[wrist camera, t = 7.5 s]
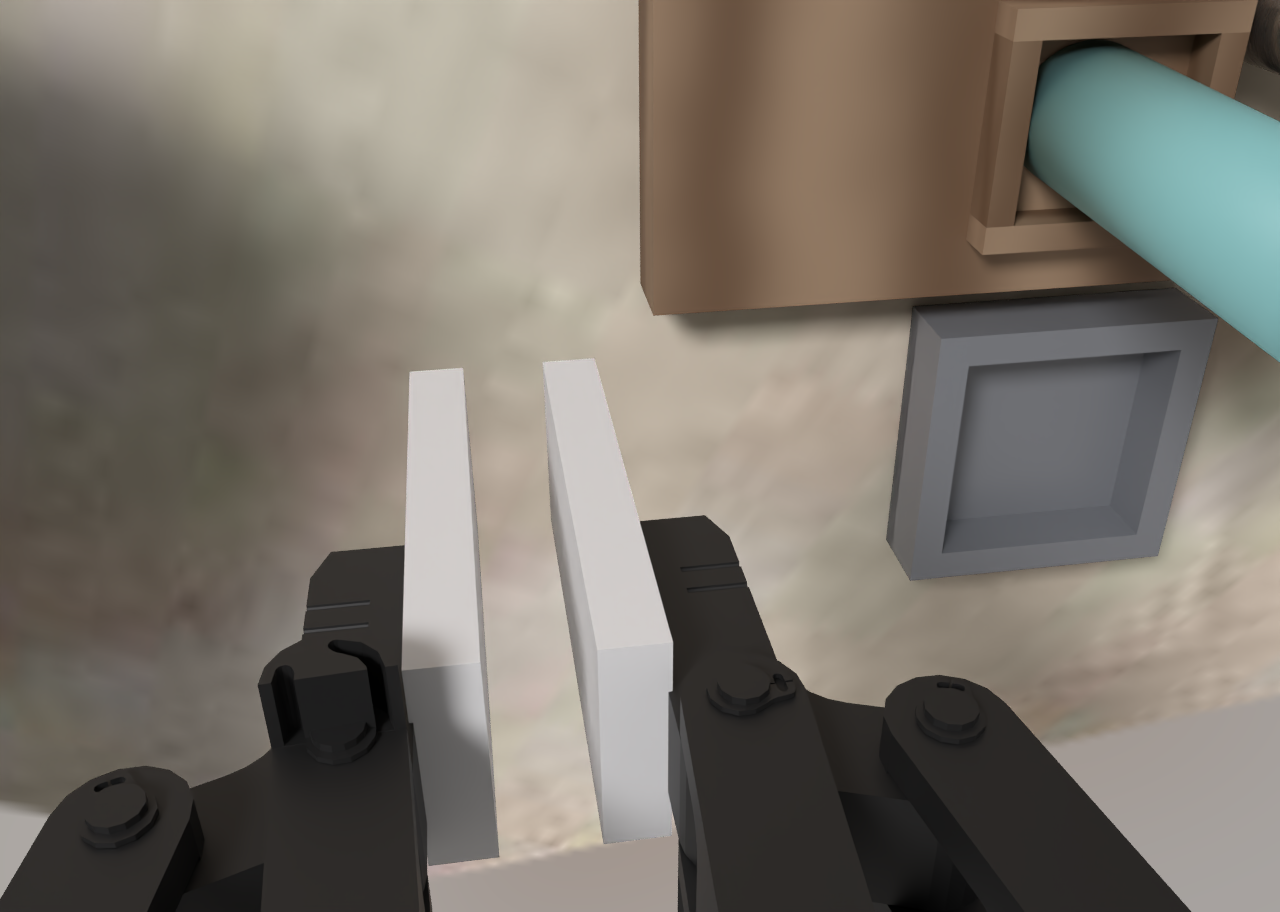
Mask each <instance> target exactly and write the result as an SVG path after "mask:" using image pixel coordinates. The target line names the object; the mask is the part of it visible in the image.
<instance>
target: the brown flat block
mask: <svg viewBox="0 0 1280 912" xmlns="http://www.w3.org/2000/svg"><path fill="white" fill-rule="evenodd" d="M1257 2H1258V0H639V127H640V276H641V286H642V288H643V291H644V293H645V296H646V298H647V301H648V303H649V306H650V308H651V311H652V313H653V316H655V315H669V314H684V313H699V312H713V311H728V310H743V309H757V308H772V307H787V306H801V305H816V304H831V303H845V302H860V301H875V300H889V299H904V298H919V297H934V296H948V295H963V294H978V293H992V292H1007V291H1022V290H1036V289H1051V288H1066V287H1080V286H1095V285H1110V284H1124V283H1139V282H1154V281H1169V280H1171V279H1170V278H1168V277H1167V276H1166V275H1164V274H1163V273H1162V272H1161V271H1159V270H1158V269H1157V268H1155V267H1154V266H1153V265H1151V264H1150V263H1149V262H1147V261H1146V260H1145V259H1143V258H1142V257H1141V256H1140V255H1138V254H1137V253H1136V252H1134V251H1133V250H1132V249H1130V248H1129V247H1128V246H1126V245H1125V244H1124V243H1123V242H1121V241H1120V240H1119V239H1117V238H1116V237H1115V236H1113V235H1112V234H1111V233H1109V232H1108V231H1107V230H1105V229H1104V228H1103V227H1102V226H1100V225H1099V224H1098V223H1096V222H1095V221H1094V220H1092V219H1091V218H1090V217H1088V216H1087V215H1086V214H1085V213H1083V212H1082V211H1081V210H1079V209H1078V208H1077V207H1075V206H1074V205H1073V204H1071V203H1070V202H1069V201H1067V200H1066V199H1065V198H1064V197H1062V196H1061V195H1060V194H1058V193H1057V192H1056V191H1054V190H1053V189H1052V188H1050V187H1049V186H1048V185H1047V184H1045V183H1044V182H1043V181H1041V180H1040V179H1039V178H1037V177H1036V176H1035V175H1033V174H1032V173H1031V172H1030V171H1029V170H1028V169H1027V168H1026V167H1025V166H1024V165H1023V164H1024V157H1025V151H1026V145H1027V138H1028V132H1029V125H1030V119H1031V113H1032V106H1033V100H1034V94H1035V87H1036V81H1037V74H1038V68H1039V66H1040V65H1041V64H1042V63H1043V62H1044V61H1046V60H1047V59H1048V58H1049V57H1051V56H1052V55H1053V54H1055V53H1056V52H1058V51H1060V50H1061V49H1063V48H1065V47H1067V46H1070V45H1072V44H1075V43H1078V42H1082V41H1086V40H1094V39H1096V40H1108V41H1113V42H1116V43H1119V44H1121V45H1123V46H1125V47H1127V48H1129V49H1131V50H1133V51H1136V52H1138V53H1140V54H1142V55H1144V56H1146V57H1148V58H1150V59H1152V60H1154V61H1156V62H1158V63H1160V64H1162V65H1164V66H1166V67H1168V68H1170V69H1172V70H1175V71H1177V72H1179V73H1181V74H1183V75H1185V76H1187V77H1189V78H1191V79H1193V80H1195V81H1197V82H1199V83H1201V84H1203V85H1205V86H1207V87H1209V88H1211V89H1214V90H1216V91H1218V92H1220V93H1222V94H1224V95H1226V96H1228V97H1230V98H1232V99H1234V98H1235V94H1236V90H1237V85H1238V81H1239V77H1240V73H1241V69H1242V65H1243V60H1244V56H1245V52H1246V48H1247V44H1248V40H1249V35H1250V31H1251V27H1252V23H1253V19H1254V15H1255V10H1256V6H1257Z"/></svg>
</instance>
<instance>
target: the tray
mask: <svg viewBox="0 0 1280 912" xmlns="http://www.w3.org/2000/svg"><path fill="white" fill-rule="evenodd" d="M1217 321H1218V318H1217V317H1215V316H1214V315H1213V314H1211V313H1210V312H1208V311H1207V310H1206V309H1204V308H1203V307H1201V306H1200V305H1199V304H1197V303H1196V302H1194V301H1193V300H1192V299H1190V298H1189V297H1187V296H1186V295H1185V294H1183V293H1182V292H1180V291H1179V290H1178V289H1176V288H1170V289H1155V290H1141V291H1127V292H1112V293H1098V294H1084V295H1069V296H1055V297H1041V298H1026V299H1012V300H998V301H984V302H969V303H955V304H941V305H926V306H913V311H912V320H911V329H910V337H909V346H908V355H907V363H906V372H905V381H904V389H903V398H902V407H901V415H900V424H899V433H898V441H897V450H896V459H895V467H894V476H893V485H892V493H891V502H890V511H889V520H888V528H887V537H886V540H887V542H888V543H889V545H890V547H891V549H892V550H893V552H894V554H895V556H896V557H897V559H898V561H899V562H900V564H901V566H902V568H903V569H904V571H905V573H906V574H907V576H908V578H909V580H910V581H911V580H921V579H931V578H941V577H951V576H961V575H971V574H981V573H991V572H1001V571H1011V570H1022V569H1032V568H1042V567H1052V566H1062V565H1072V564H1082V563H1092V562H1102V561H1112V560H1122V559H1132V558H1142V557H1152V556H1158V553H1159V549H1160V545H1161V541H1162V537H1163V533H1164V529H1165V526H1166V522H1167V518H1168V514H1169V510H1170V506H1171V502H1172V498H1173V494H1174V490H1175V486H1176V482H1177V478H1178V475H1179V471H1180V467H1181V463H1182V459H1183V455H1184V451H1185V447H1186V443H1187V439H1188V435H1189V431H1190V427H1191V424H1192V420H1193V416H1194V412H1195V408H1196V404H1197V400H1198V396H1199V392H1200V388H1201V384H1202V380H1203V376H1204V372H1205V369H1206V365H1207V361H1208V357H1209V353H1210V349H1211V345H1212V341H1213V337H1214V333H1215V329H1216V325H1217Z"/></svg>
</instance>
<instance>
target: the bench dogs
mask: <svg viewBox="0 0 1280 912" xmlns="http://www.w3.org/2000/svg"><path fill="white" fill-rule="evenodd" d="M1243 61H1244V62H1247V63H1250V64H1252V65H1255V66H1258V67H1260V68H1263V69H1265V70H1268V71H1271V72H1273V73H1276V74H1279V75H1280V0H1258V2H1257V6H1256V10H1255V15H1254V19H1253V23H1252V27H1251V31H1250V35H1249V40H1248V44H1247V48H1246V52H1245V56H1244V60H1243Z"/></svg>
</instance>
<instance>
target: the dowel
mask: <svg viewBox="0 0 1280 912" xmlns="http://www.w3.org/2000/svg"><path fill="white" fill-rule="evenodd" d="M1023 165H1024V166H1025V167H1026V168H1027V169H1028V170H1029V171H1030V172H1031V173H1032V174H1033V175H1035V176H1036V177H1037V178H1039V179H1040V180H1041V181H1043V182H1044V183H1045V184H1047V185H1048V186H1049V187H1050V188H1052V189H1053V190H1054V191H1056V192H1057V193H1058V194H1060V195H1061V196H1062V197H1064V198H1065V199H1066V200H1067V201H1069V202H1070V203H1071V204H1073V205H1074V206H1075V207H1077V208H1078V209H1079V210H1081V211H1082V212H1083V213H1085V214H1086V215H1087V216H1088V217H1090V218H1091V219H1092V220H1094V221H1095V222H1096V223H1098V224H1099V225H1100V226H1102V227H1103V228H1104V229H1105V230H1107V231H1108V232H1109V233H1111V234H1112V235H1113V236H1115V237H1116V238H1117V239H1119V240H1120V241H1121V242H1123V243H1124V244H1125V245H1126V246H1128V247H1129V248H1130V249H1132V250H1133V251H1134V252H1136V253H1137V254H1138V255H1140V256H1141V257H1142V258H1143V259H1145V260H1146V261H1147V262H1149V263H1150V264H1151V265H1153V266H1154V267H1155V268H1157V269H1158V270H1159V271H1161V272H1162V273H1163V274H1164V275H1166V276H1167V277H1168V278H1170V279H1171V280H1172V281H1174V282H1175V283H1176V284H1178V285H1179V286H1180V287H1181V288H1183V289H1184V290H1185V291H1187V292H1188V293H1189V294H1191V295H1192V296H1193V297H1195V298H1196V299H1197V300H1199V301H1200V302H1201V303H1202V304H1204V305H1205V306H1206V307H1208V308H1209V309H1210V310H1212V311H1213V312H1214V313H1216V314H1217V315H1218V316H1219V317H1221V318H1222V319H1223V320H1225V321H1226V322H1227V323H1229V324H1230V325H1231V326H1233V327H1234V328H1235V329H1237V330H1238V331H1239V332H1240V333H1242V334H1243V335H1244V336H1246V337H1247V338H1248V339H1250V340H1251V341H1252V342H1254V343H1255V344H1256V345H1257V346H1259V347H1260V348H1261V349H1263V350H1264V351H1265V352H1267V353H1268V354H1269V355H1271V356H1272V357H1273V358H1275V359H1276V360H1277V361H1278V362H1280V122H1279V121H1277V120H1275V119H1273V118H1271V117H1269V116H1267V115H1265V114H1263V113H1261V112H1259V111H1257V110H1255V109H1253V108H1250V107H1248V106H1246V105H1244V104H1242V103H1240V102H1238V101H1236V100H1234V99H1232V98H1230V97H1228V96H1226V95H1224V94H1222V93H1220V92H1218V91H1216V90H1214V89H1211V88H1209V87H1207V86H1205V85H1203V84H1201V83H1199V82H1197V81H1195V80H1193V79H1191V78H1189V77H1187V76H1185V75H1183V74H1181V73H1179V72H1177V71H1175V70H1172V69H1170V68H1168V67H1166V66H1164V65H1162V64H1160V63H1158V62H1156V61H1154V60H1152V59H1150V58H1148V57H1146V56H1144V55H1142V54H1140V53H1138V52H1136V51H1133V50H1131V49H1129V48H1127V47H1125V46H1123V45H1121V44H1119V43H1116V42H1113V41H1108V40H1096V39H1094V40H1086V41H1082V42H1078V43H1075V44H1072V45H1070V46H1067V47H1065V48H1063V49H1061V50H1060V51H1058V52H1056V53H1055V54H1053V55H1052V56H1051V57H1049V58H1048V59H1047V60H1046V61H1044V62H1043V63H1042V64H1041V65H1040V66H1039V68H1038V74H1037V81H1036V87H1035V94H1034V100H1033V106H1032V113H1031V119H1030V125H1029V132H1028V138H1027V145H1026V151H1025V157H1024V164H1023Z"/></svg>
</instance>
